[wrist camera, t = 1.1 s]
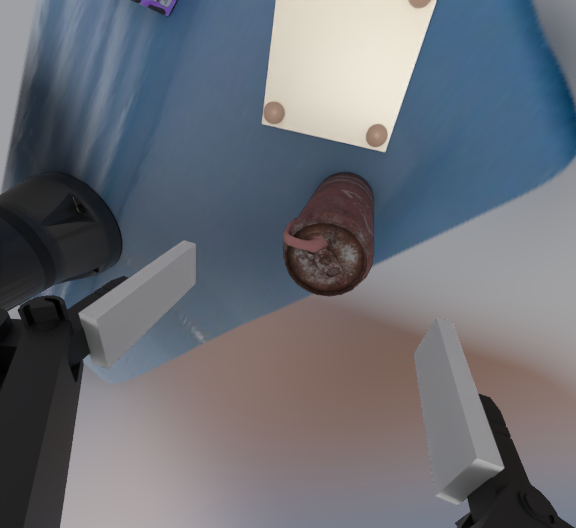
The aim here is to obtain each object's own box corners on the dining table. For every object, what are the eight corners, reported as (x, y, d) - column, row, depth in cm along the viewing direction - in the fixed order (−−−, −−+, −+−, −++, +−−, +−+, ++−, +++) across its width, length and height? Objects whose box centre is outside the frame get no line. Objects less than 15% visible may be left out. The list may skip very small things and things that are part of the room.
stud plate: (265, 123, 28) (258, 124, 27) (286, -45, 22) (278, -58, 20) (384, 150, 27) (385, 153, 25) (443, -23, 20) (449, -34, 19)
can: (324, 161, 29) (290, 200, 17) (384, 184, 28) (391, 240, 16) (305, 215, 32) (265, 279, 20) (358, 235, 31) (349, 313, 20)
